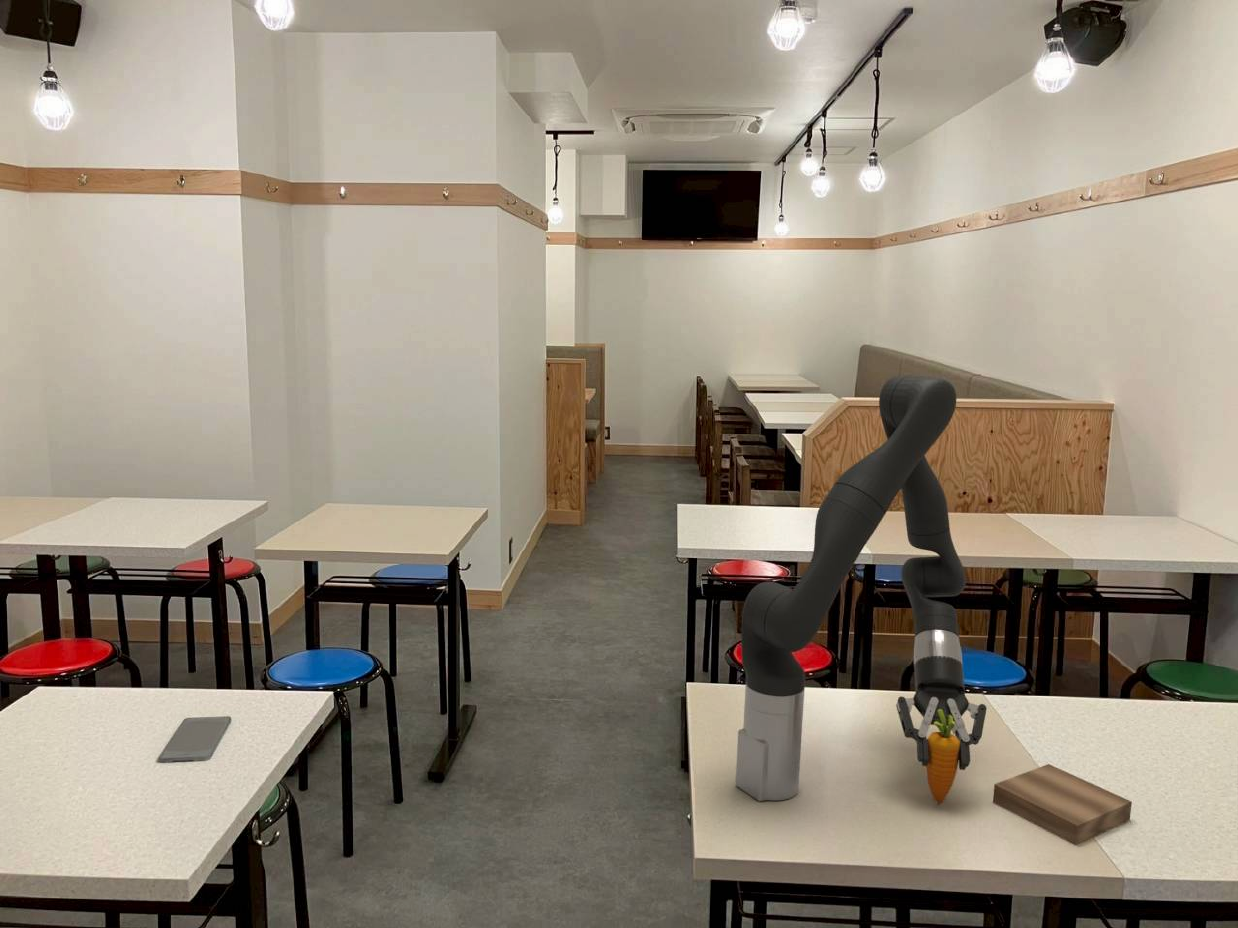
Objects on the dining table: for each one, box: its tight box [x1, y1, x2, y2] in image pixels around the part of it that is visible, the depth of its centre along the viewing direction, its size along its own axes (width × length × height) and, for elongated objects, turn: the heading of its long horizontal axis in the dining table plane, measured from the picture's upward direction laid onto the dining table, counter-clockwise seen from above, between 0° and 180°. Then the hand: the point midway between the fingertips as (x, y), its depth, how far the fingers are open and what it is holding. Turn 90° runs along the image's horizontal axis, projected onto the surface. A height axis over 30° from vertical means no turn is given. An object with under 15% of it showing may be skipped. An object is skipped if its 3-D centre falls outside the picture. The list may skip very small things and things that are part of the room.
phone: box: [157, 715, 232, 764], centre depth 163 cm, size 8×16×1 cm, turn 9°
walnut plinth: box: [992, 763, 1133, 846], centre depth 147 cm, size 14×14×3 cm
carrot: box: [925, 709, 960, 805], centre depth 147 cm, size 5×5×15 cm
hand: (944, 765), depth 145 cm, fingers closed on carrot, 5 cm apart
